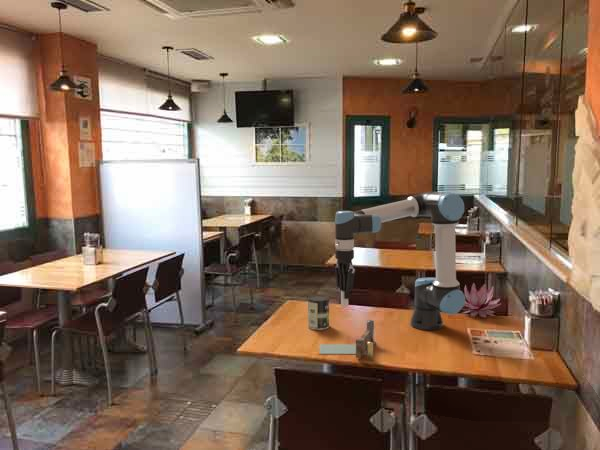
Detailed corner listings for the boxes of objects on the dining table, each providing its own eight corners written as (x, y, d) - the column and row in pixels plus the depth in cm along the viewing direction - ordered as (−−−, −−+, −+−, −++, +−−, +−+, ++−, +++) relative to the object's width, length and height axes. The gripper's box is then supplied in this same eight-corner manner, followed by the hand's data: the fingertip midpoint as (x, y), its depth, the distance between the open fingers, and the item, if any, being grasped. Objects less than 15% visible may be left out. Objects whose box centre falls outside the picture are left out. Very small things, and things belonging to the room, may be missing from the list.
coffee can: (330, 323, 231) (330, 295, 230) (327, 330, 221) (327, 301, 220) (309, 322, 234) (309, 294, 232) (306, 329, 224) (305, 300, 222)
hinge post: (375, 341, 207) (375, 319, 206) (376, 345, 203) (376, 323, 201) (363, 341, 208) (363, 319, 206) (364, 345, 203) (365, 323, 201)
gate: (366, 342, 203) (366, 327, 202) (371, 343, 203) (371, 327, 202) (355, 357, 188) (355, 340, 187) (360, 358, 187) (360, 341, 186)
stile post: (372, 358, 189) (372, 341, 189) (373, 360, 187) (373, 343, 186) (366, 358, 189) (366, 341, 189) (367, 360, 187) (367, 343, 186)
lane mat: (365, 345, 203) (365, 344, 203) (368, 354, 193) (368, 353, 193) (319, 345, 204) (319, 344, 204) (319, 354, 194) (319, 353, 194)
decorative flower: (481, 324, 229) (482, 294, 227) (447, 312, 247) (447, 284, 245) (509, 317, 239) (511, 288, 237) (475, 306, 258) (476, 279, 256)
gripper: (328, 247, 196) (328, 303, 199) (346, 252, 184) (346, 311, 187) (342, 246, 199) (343, 300, 202) (361, 250, 188) (361, 308, 191)
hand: (344, 305), depth 195 cm, fingers closed
